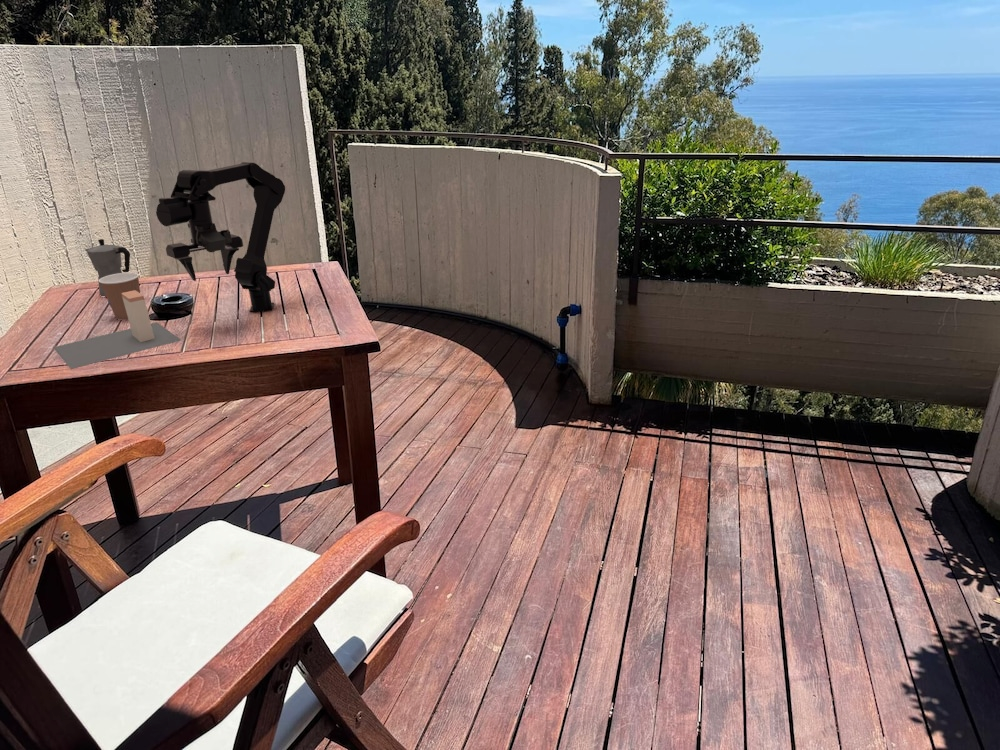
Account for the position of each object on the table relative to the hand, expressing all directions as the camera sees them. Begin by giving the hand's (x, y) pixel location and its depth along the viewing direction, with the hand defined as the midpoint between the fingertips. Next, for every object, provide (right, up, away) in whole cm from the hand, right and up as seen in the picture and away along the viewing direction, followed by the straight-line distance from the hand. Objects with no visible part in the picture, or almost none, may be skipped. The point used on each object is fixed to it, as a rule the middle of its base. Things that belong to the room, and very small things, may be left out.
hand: (211, 277), depth 183 cm
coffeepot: (-45, 0, +35) cm, 58 cm away
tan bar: (-17, -17, -3) cm, 24 cm away
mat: (-22, -19, -7) cm, 30 cm away
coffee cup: (-30, -10, +14) cm, 35 cm away
